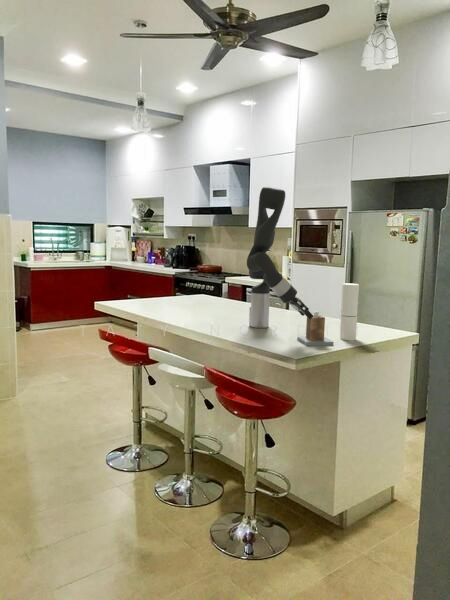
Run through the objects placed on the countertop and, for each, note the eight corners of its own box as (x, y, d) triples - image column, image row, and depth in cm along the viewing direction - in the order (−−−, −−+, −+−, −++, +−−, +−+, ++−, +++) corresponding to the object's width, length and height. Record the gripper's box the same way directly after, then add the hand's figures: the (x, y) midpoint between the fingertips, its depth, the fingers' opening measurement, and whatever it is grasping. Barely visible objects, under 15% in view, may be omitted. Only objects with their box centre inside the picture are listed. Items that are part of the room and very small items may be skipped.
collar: (310, 340, 209) (311, 317, 207) (305, 337, 215) (306, 315, 213) (323, 340, 210) (325, 317, 209) (318, 337, 216) (319, 315, 214)
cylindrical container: (353, 337, 226) (356, 283, 222) (357, 340, 219) (361, 285, 215) (337, 337, 225) (340, 283, 222) (342, 340, 218) (345, 284, 215)
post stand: (306, 345, 205) (308, 314, 204) (297, 339, 217) (298, 309, 215) (333, 345, 208) (335, 314, 206) (322, 339, 219) (324, 309, 218)
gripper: (295, 285, 200) (320, 312, 204) (284, 281, 214) (308, 307, 217) (282, 298, 199) (307, 325, 203) (272, 293, 213) (296, 319, 217)
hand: (307, 316), depth 210 cm, fingers open, 8 cm apart
